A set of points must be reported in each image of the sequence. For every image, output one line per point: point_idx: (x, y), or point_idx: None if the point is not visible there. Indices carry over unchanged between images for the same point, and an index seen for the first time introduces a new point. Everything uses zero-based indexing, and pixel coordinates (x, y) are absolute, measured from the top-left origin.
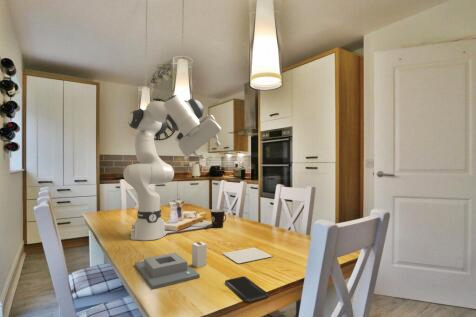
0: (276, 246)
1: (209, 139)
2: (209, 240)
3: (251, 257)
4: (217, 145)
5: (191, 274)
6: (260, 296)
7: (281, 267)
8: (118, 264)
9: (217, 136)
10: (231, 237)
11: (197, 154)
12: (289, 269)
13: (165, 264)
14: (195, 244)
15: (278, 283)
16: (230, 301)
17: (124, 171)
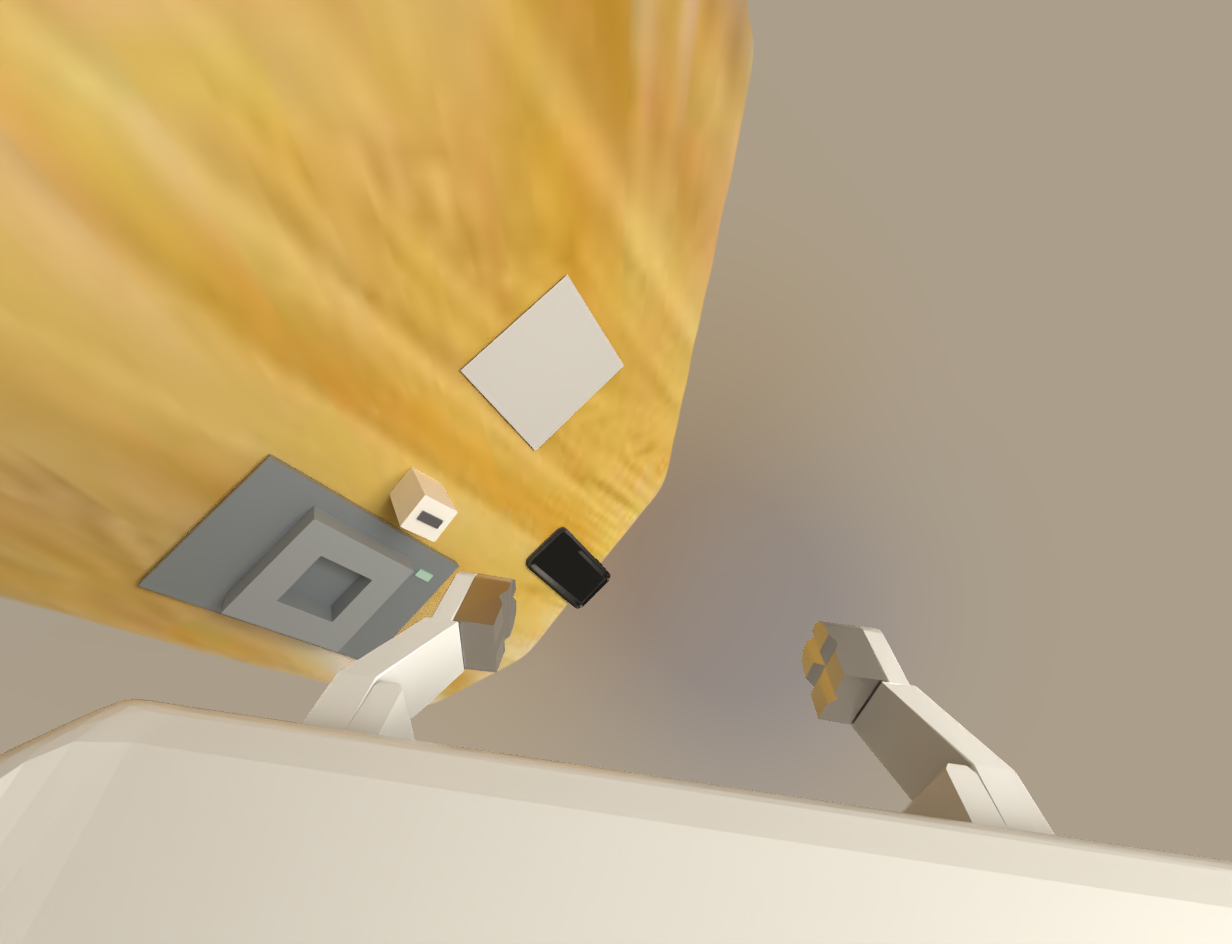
0: (638, 242)
1: (838, 823)
2: (301, 131)
3: (566, 391)
4: (816, 671)
5: (436, 575)
6: (599, 589)
7: (637, 438)
8: (30, 602)
9: (1007, 792)
10: (422, 54)
11: (426, 698)
12: (652, 445)
13: (354, 615)
14: (418, 529)
15: (626, 521)
16: (551, 615)
17: None
